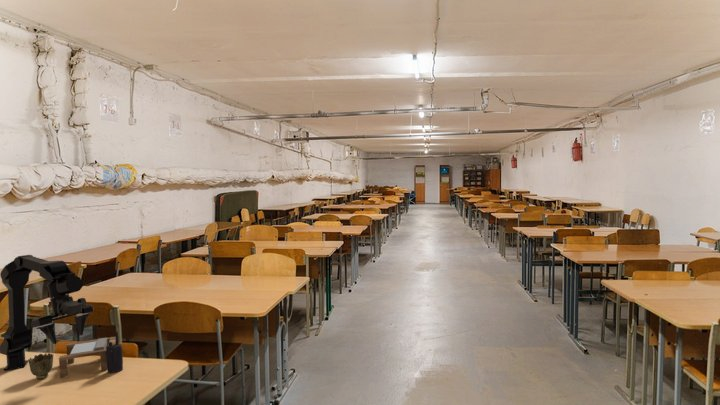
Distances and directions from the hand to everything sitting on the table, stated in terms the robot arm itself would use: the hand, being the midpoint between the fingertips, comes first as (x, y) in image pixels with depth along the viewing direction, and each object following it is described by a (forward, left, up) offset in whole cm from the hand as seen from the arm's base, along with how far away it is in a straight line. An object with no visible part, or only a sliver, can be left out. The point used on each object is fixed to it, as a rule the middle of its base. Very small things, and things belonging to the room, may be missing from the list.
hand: (68, 339), depth 158 cm
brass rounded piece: (-8, -10, -16) cm, 20 cm away
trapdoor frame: (-13, +4, -15) cm, 21 cm away
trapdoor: (-13, +4, -9) cm, 17 cm away
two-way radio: (-2, +14, -16) cm, 21 cm away
